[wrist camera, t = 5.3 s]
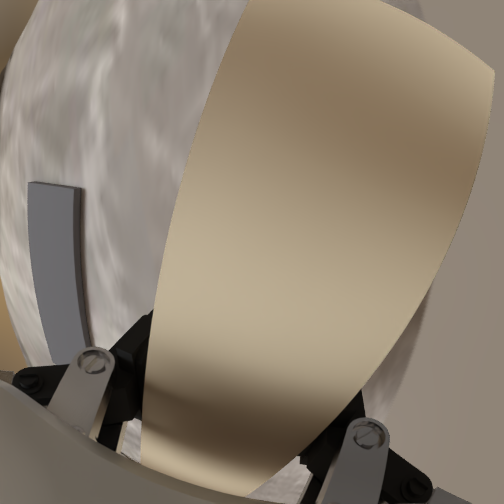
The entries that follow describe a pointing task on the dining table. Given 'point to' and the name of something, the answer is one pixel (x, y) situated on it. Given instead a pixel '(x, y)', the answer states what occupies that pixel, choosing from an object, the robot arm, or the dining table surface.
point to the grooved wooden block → (304, 229)
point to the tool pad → (58, 267)
